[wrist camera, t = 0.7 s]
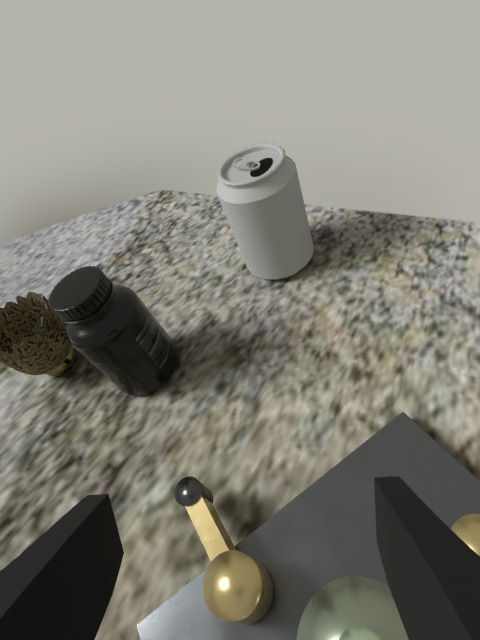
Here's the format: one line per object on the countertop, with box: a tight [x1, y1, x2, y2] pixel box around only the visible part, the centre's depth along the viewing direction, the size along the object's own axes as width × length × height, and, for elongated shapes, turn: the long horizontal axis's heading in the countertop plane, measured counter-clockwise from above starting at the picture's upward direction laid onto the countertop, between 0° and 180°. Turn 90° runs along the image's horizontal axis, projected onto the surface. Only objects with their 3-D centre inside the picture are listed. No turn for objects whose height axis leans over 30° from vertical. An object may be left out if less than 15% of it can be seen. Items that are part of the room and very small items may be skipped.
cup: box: [0, 292, 75, 376], centre depth 40 cm, size 8×7×8 cm
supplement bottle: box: [48, 266, 179, 396], centre depth 35 cm, size 7×7×12 cm
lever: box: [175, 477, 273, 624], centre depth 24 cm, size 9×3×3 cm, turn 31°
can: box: [217, 143, 314, 280], centre depth 39 cm, size 8×8×12 cm
